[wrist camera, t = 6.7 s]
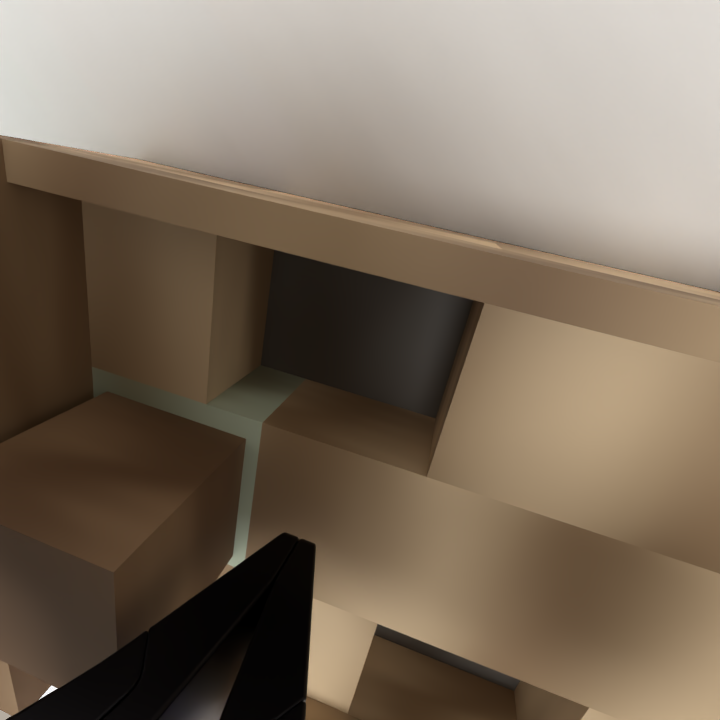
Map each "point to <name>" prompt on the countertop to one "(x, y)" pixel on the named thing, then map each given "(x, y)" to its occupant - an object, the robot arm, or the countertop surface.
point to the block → (108, 529)
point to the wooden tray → (398, 430)
